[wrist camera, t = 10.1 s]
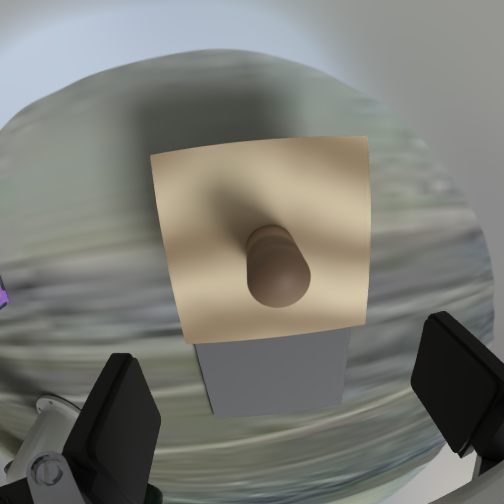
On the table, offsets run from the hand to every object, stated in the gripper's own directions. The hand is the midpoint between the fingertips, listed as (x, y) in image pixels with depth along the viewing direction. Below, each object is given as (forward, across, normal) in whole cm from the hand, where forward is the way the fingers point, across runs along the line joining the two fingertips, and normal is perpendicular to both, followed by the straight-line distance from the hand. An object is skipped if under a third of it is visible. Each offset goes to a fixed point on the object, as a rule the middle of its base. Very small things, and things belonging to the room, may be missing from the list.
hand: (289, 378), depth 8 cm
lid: (+13, -1, -1) cm, 13 cm away
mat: (+20, -1, +16) cm, 26 cm away
